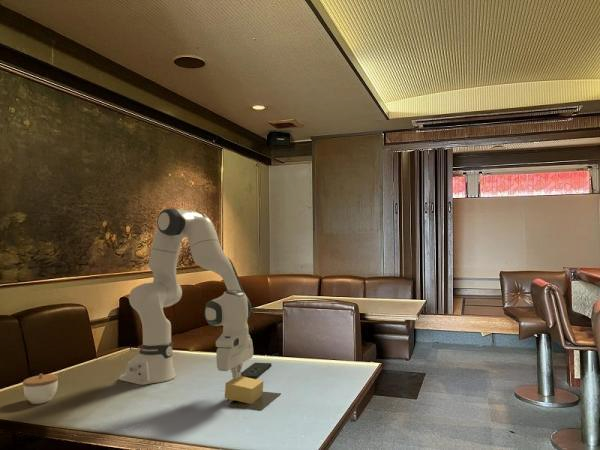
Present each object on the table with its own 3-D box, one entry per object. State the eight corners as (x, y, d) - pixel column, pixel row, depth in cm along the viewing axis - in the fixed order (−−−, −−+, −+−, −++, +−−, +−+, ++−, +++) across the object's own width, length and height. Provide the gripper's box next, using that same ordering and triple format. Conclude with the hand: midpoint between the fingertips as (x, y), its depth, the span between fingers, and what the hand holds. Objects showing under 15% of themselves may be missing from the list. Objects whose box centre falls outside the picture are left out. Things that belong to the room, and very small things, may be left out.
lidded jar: (21, 408, 147) (21, 380, 148) (24, 399, 157) (24, 372, 157) (57, 402, 152) (57, 375, 153) (58, 393, 162) (58, 368, 162)
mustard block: (225, 383, 149) (252, 388, 146) (238, 375, 157) (263, 380, 154) (224, 397, 149) (251, 404, 146) (237, 389, 157) (262, 395, 154)
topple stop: (225, 406, 145) (225, 403, 145) (247, 390, 160) (247, 388, 160) (261, 410, 140) (261, 407, 140) (280, 394, 155) (280, 391, 155)
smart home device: (236, 375, 176) (254, 362, 195) (236, 379, 176) (254, 366, 195) (256, 376, 174) (272, 362, 193) (256, 380, 174) (272, 366, 193)
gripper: (241, 331, 164) (242, 368, 164) (212, 342, 145) (213, 385, 144) (257, 331, 162) (257, 369, 161) (229, 343, 143) (230, 386, 142)
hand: (236, 377), depth 153 cm, fingers closed
